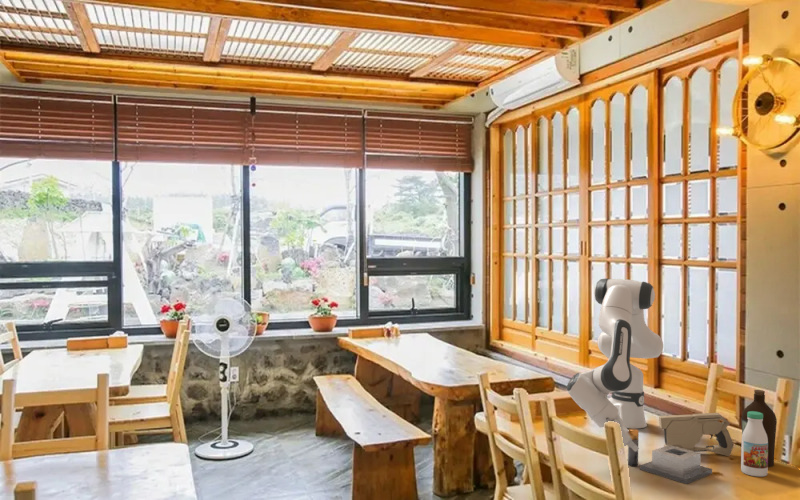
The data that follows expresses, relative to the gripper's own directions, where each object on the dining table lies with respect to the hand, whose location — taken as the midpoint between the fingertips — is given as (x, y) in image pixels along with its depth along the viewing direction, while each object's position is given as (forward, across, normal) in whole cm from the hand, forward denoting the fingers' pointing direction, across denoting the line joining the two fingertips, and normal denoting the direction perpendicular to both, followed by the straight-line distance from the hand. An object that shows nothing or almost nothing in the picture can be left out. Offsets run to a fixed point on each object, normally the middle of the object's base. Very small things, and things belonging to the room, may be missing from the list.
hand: (635, 445), depth 219 cm
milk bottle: (+31, +2, -22) cm, 38 cm away
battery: (+4, 0, +5) cm, 7 cm away
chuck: (+14, -3, -4) cm, 14 cm away
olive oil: (+35, +14, -25) cm, 45 cm away
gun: (+21, +19, -12) cm, 31 cm away
